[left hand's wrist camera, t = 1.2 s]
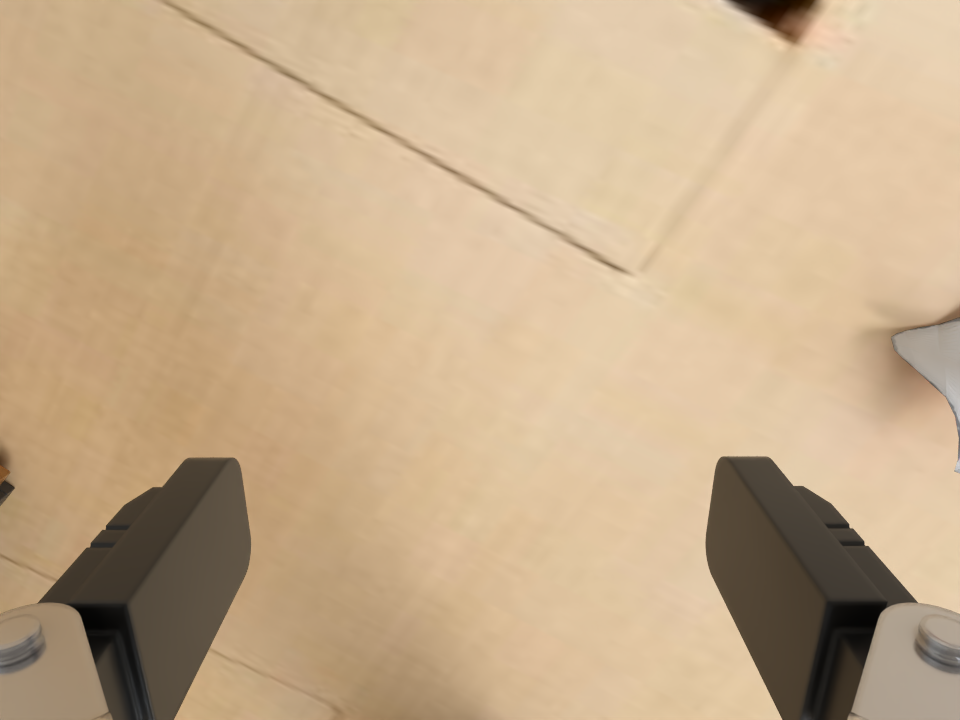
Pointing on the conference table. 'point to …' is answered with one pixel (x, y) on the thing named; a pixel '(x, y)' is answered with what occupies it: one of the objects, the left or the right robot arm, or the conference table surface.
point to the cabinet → (5, 491)
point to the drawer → (3, 474)
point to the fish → (935, 360)
